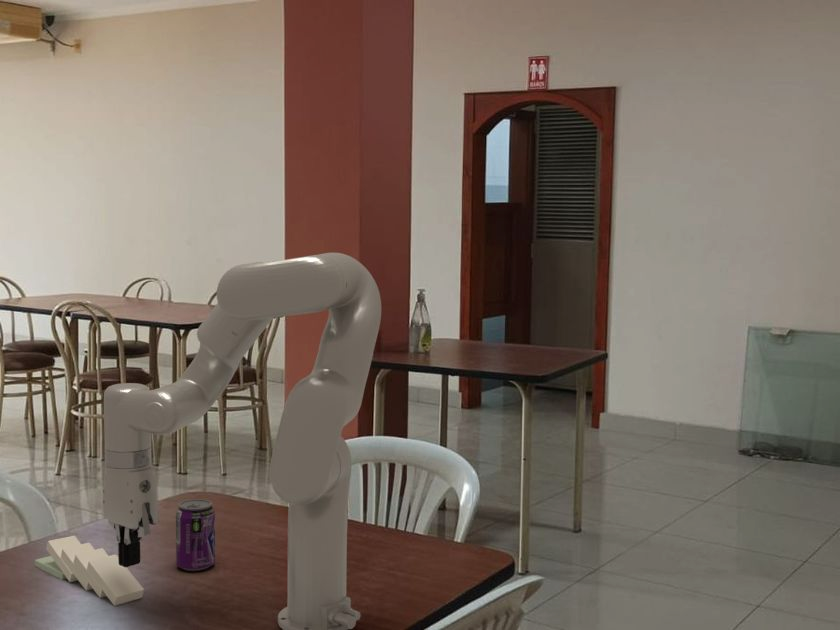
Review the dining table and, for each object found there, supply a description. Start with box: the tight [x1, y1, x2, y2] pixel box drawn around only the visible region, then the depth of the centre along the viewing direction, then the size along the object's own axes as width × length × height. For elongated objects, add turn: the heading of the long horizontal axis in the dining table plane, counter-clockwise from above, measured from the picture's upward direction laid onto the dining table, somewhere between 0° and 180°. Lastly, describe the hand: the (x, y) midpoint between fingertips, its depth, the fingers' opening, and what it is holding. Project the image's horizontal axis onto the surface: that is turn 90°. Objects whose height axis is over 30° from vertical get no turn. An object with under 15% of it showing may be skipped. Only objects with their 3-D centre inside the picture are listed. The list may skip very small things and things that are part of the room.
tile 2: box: [74, 547, 109, 599], centre depth 180 cm, size 2×5×10 cm
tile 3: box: [61, 542, 96, 592], centre depth 183 cm, size 2×5×10 cm
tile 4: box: [45, 535, 82, 583], centre depth 186 cm, size 2×5×10 cm
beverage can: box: [175, 498, 216, 572], centre depth 190 cm, size 7×7×12 cm
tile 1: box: [87, 554, 145, 606], centre depth 176 cm, size 2×5×10 cm
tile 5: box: [34, 555, 68, 581], centre depth 189 cm, size 2×5×10 cm
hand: (129, 564), depth 173 cm, fingers closed
